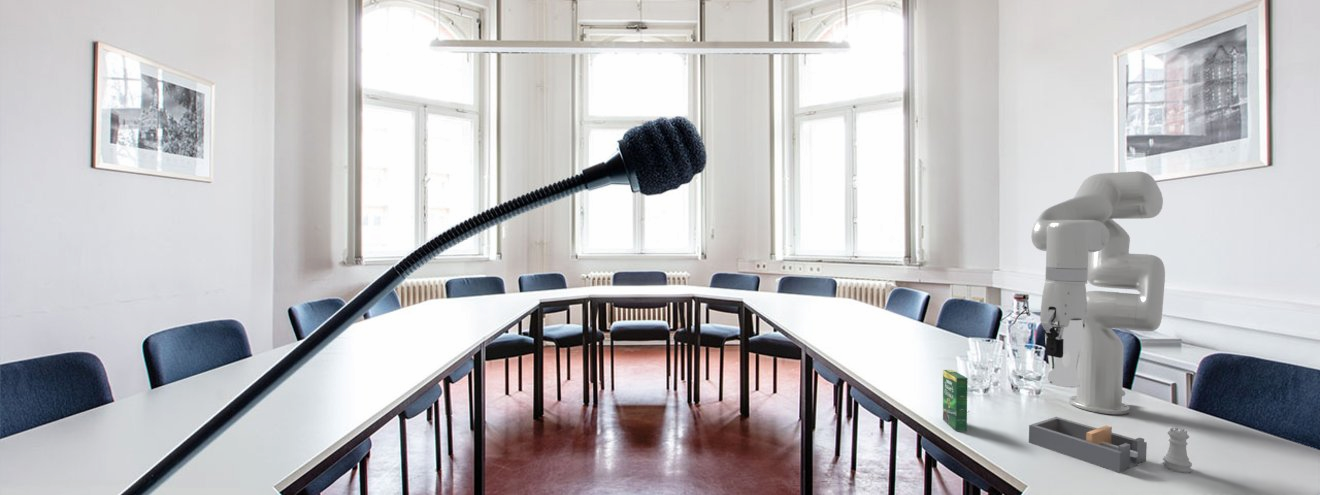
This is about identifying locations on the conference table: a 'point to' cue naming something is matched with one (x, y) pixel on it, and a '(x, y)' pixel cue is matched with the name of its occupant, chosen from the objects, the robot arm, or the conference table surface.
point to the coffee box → (955, 400)
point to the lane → (1086, 444)
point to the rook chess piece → (1177, 452)
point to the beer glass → (1067, 356)
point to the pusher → (1104, 438)
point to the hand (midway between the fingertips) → (1063, 353)
